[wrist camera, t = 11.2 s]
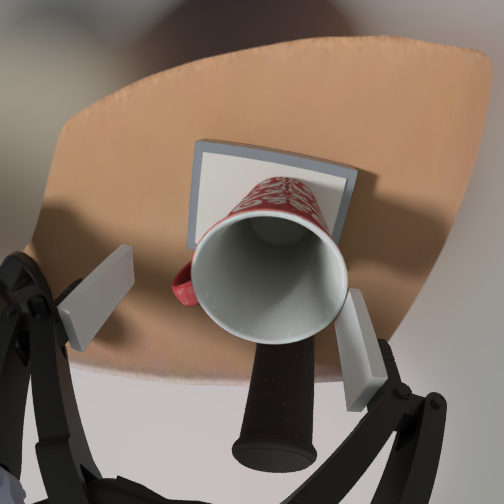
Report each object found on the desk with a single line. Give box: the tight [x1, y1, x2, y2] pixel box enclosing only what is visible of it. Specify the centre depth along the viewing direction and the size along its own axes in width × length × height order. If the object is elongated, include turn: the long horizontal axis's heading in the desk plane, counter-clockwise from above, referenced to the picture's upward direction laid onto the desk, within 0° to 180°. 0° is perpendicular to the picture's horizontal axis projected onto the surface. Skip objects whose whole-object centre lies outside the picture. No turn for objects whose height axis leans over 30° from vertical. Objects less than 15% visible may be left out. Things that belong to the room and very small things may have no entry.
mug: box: [171, 177, 348, 344], centre depth 22 cm, size 13×9×14 cm
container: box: [232, 335, 317, 473], centre depth 30 cm, size 9×9×20 cm
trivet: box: [187, 139, 358, 250], centre depth 29 cm, size 16×12×3 cm
